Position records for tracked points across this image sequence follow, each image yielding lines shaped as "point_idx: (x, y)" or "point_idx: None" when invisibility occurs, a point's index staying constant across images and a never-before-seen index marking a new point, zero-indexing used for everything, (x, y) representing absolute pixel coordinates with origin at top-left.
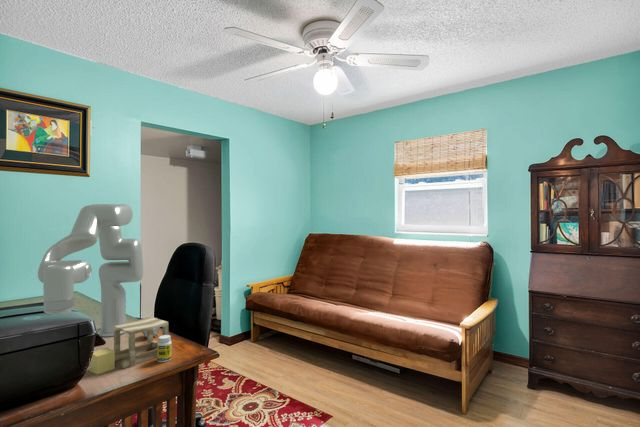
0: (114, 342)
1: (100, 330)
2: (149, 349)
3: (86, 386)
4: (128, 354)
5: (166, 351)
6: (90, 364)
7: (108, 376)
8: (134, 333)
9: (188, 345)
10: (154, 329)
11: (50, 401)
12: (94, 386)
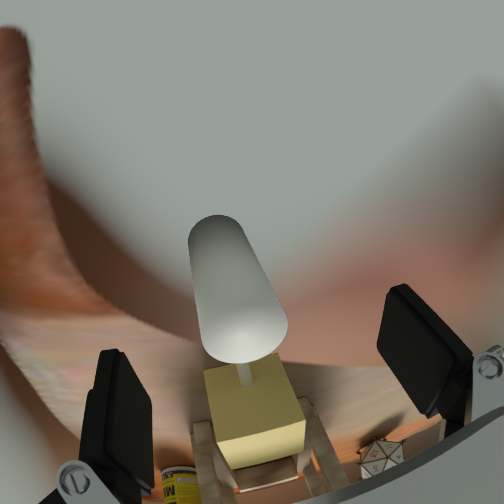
0: (332, 456)
1: (498, 354)
2: (291, 455)
3: (95, 331)
4: None
5: (164, 498)
6: (276, 378)
7: (151, 392)
8: None
9: (237, 490)
10: (362, 470)
11: (18, 194)
12: (78, 350)
